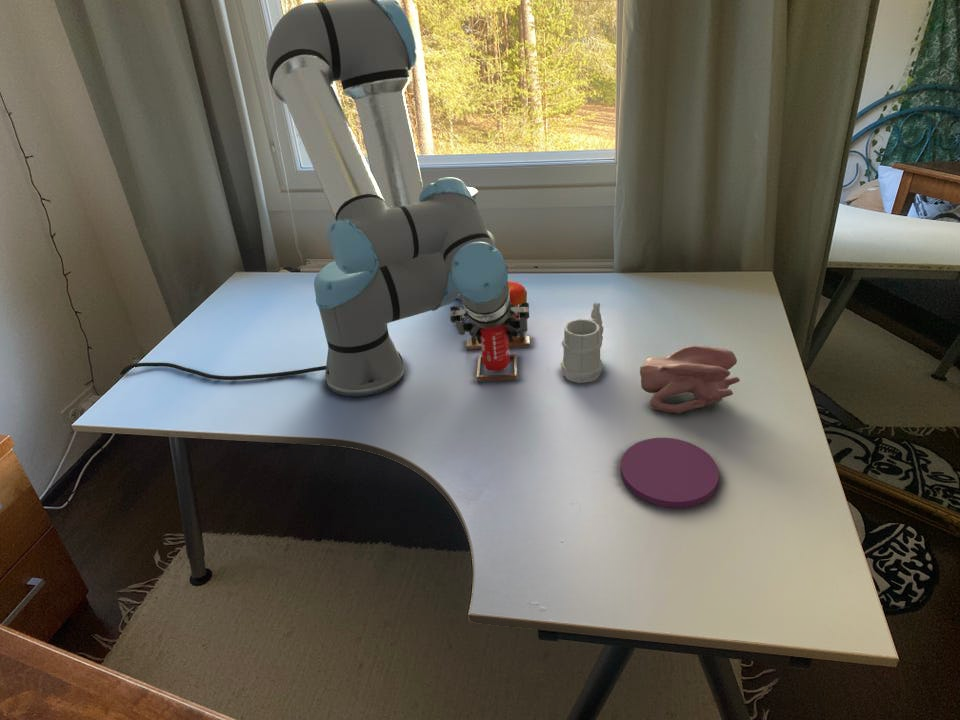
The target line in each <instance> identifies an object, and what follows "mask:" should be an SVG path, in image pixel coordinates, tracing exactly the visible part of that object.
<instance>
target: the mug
mask: <svg viewBox="0 0 960 720" xmlns="http://www.w3.org/2000/svg"><path fill="white" fill-rule="evenodd" d="M592 306H593V308H592V309H591V314H590V318H589V319H586V318H585V319H584V318H583V319H582V318H579V319H573V320H571V321H569V322H567V323H566V324H565V326H564V331H563V338H562V340H561V345H562V349H563V355H562V360H561V363H560V368H561V370H562V374H563V377H565V379H566V380H568V381H570V382H573V383H576V384H585V383H591V382H594V381H597V380H598V379H599V377H600V376H601V374H602V373H601V372H602V371H603V367H604V363H603V361H602V359H601V348H602V345H603V340H604V336H603V334H604V326H603V320H602V314H601V310H600V309H601V303H600V302H593V305H592Z"/></svg>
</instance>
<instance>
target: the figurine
mask: <svg viewBox="0 0 960 720" xmlns="http://www.w3.org/2000/svg"><path fill="white" fill-rule="evenodd" d="M737 362H738V359H737V357H736V355H735V353H734V352H733V351H732V350H728V349H726V348H720V347H713V346H709V345H708V346H707V345H688V346H685V347H683V348H680V349H678V350H676V351H674V352H673V353H670V354H669V355H668V356H665V357H659V356H654V357H653V356H651V357H648V358H646V359H645V361H644V362H643V364H641V366H640V367H639V376H640V384H641V389H642V390H643V391H644V392H646V393H649V394H654V395H653V396H652V397H651V398H650V401H649V407H650V408H652V409H655V410H656V411H658V412H664V413H671V414H672V413H673V414H677V415H678V414H679V415H680V414H682V413H685V412H688V411H691V410H696V409H700V408H702V407H707V406H710V405H712V404H713V403H714V402H716V403H719V402H721V401H723V399H724V398H728V397H730V396H733V394H734V392H733V391H732V389H729V388H730V386H732V385H735V384H737V383H739V382H740V381H741V378H740V377H738V376H731V377H730V375H731V372H730V371H729V370H731V369H732V368H733V367H734V366H736V364H737ZM687 393H688V394H692V396H693V397H694V400H689V401H685V402H681V403H676V404H671V403H667V402H663V401H664V400H667V399H669V398H673V397H675V396H679V395H682V394H687Z"/></svg>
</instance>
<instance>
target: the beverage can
mask: <svg viewBox="0 0 960 720" xmlns="http://www.w3.org/2000/svg"><path fill="white" fill-rule="evenodd" d="M480 336H481V347H482V349H481V356H482V358H483V361H482V363H483V366H485V369H486V370H487V371H489V372H493V373H495V372H502V371H504V370H505V369H507V368H508V367H509V363H510V361H511V360H510V358H509V355H510V348H509V342H508V331H507V329H506V328H505V327H504V326H497V327H494V328H488V329H487V328H481V327H480Z"/></svg>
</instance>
